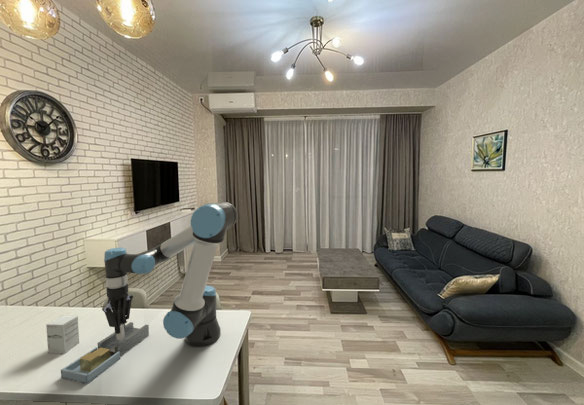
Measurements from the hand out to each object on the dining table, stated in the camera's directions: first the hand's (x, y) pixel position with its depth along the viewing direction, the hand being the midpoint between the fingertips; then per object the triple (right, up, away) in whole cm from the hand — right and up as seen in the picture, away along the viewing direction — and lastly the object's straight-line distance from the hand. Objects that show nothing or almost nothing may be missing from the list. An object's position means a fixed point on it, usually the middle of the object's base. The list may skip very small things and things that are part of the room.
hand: (120, 338), depth 109 cm
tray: (-3, -5, -12) cm, 13 cm away
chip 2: (-2, -4, -8) cm, 10 cm away
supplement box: (-24, -4, 0) cm, 24 cm away
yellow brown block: (-3, -2, -11) cm, 11 cm away
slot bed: (0, -4, +3) cm, 4 cm away
